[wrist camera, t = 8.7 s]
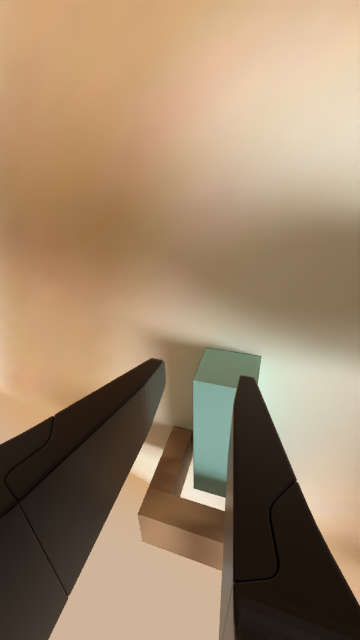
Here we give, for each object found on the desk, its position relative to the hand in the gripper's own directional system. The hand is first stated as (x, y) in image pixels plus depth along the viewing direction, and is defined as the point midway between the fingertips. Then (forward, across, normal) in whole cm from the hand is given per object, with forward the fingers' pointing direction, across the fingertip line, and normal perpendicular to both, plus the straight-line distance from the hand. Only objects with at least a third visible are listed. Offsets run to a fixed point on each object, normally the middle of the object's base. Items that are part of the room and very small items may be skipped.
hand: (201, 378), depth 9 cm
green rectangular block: (+11, 0, +13) cm, 17 cm away
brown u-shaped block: (+11, 0, +18) cm, 22 cm away
